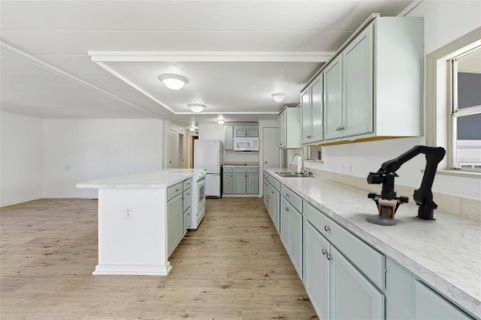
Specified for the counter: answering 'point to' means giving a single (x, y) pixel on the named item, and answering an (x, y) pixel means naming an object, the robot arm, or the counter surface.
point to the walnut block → (387, 212)
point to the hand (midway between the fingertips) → (386, 212)
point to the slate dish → (381, 220)
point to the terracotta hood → (386, 204)
